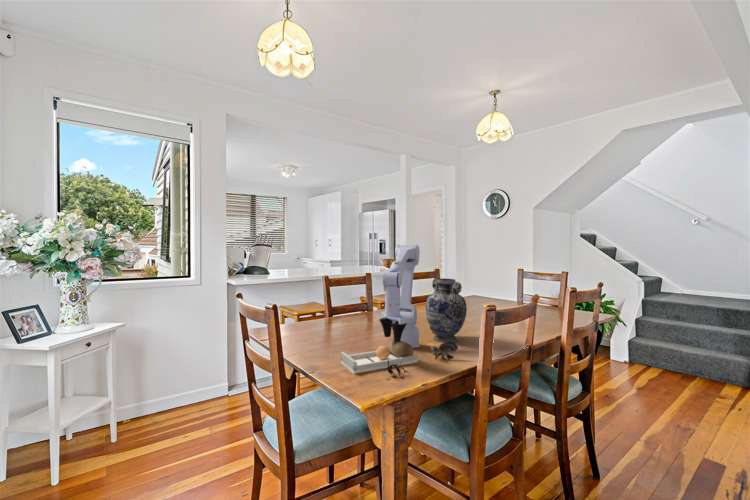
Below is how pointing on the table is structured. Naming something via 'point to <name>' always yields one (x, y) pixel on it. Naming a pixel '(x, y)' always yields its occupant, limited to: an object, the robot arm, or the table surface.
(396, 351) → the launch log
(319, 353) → the table surface
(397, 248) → the robot arm
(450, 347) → the withered leafy plant
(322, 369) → the table surface
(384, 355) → the ball
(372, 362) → the lane
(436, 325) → the decorative vase
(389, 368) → the creature
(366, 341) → the table surface
